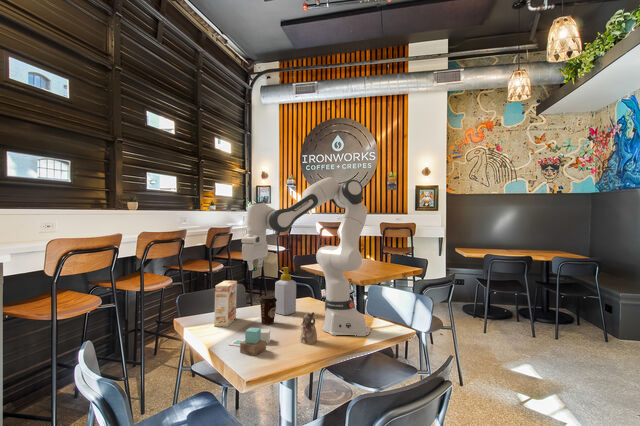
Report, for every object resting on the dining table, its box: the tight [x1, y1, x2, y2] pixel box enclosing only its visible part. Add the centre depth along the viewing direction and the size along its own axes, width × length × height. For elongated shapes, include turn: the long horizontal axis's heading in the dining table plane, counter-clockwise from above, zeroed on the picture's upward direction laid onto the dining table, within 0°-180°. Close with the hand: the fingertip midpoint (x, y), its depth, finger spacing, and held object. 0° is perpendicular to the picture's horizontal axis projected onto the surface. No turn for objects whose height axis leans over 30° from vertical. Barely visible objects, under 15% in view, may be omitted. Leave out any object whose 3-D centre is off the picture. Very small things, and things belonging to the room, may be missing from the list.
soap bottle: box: [274, 266, 297, 316], centre depth 185 cm, size 9×9×25 cm
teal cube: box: [244, 327, 262, 344], centre depth 130 cm, size 4×4×4 cm
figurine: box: [299, 311, 318, 345], centre depth 141 cm, size 7×7×12 cm
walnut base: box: [239, 339, 267, 357], centre depth 130 cm, size 7×7×4 cm
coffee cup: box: [259, 295, 277, 326], centre depth 166 cm, size 9×8×13 cm
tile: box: [228, 338, 245, 347], centre depth 138 cm, size 6×6×1 cm
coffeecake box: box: [213, 280, 238, 328], centre depth 167 cm, size 15×7×20 cm, turn 179°
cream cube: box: [261, 328, 271, 344], centre depth 141 cm, size 4×4×4 cm
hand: (255, 268), depth 151 cm, fingers open, 8 cm apart
